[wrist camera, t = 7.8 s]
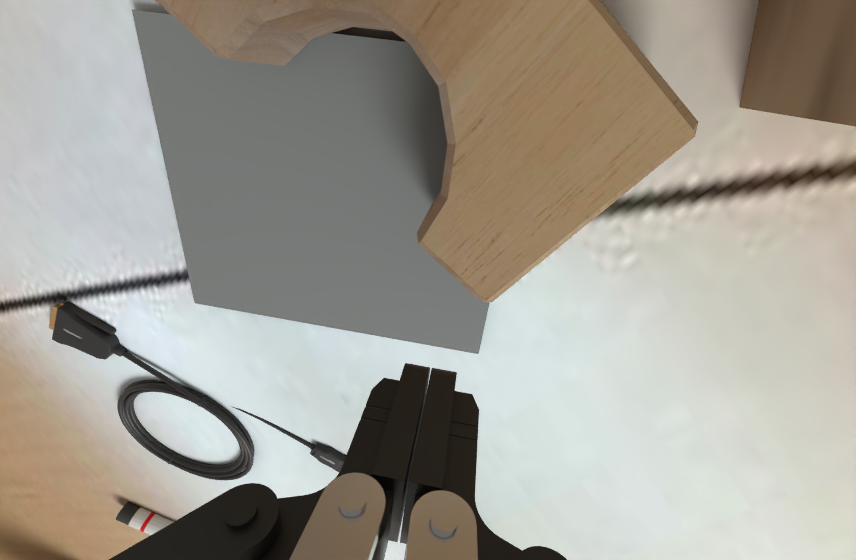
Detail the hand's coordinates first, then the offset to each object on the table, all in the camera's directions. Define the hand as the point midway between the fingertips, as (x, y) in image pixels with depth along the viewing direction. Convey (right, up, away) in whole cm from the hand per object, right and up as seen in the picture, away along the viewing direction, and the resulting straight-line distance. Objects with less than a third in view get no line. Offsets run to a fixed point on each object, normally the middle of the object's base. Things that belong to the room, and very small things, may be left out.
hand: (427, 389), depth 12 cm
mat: (-6, +8, +13) cm, 16 cm away
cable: (-21, -10, +26) cm, 35 cm away
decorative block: (+7, +6, +7) cm, 12 cm away
